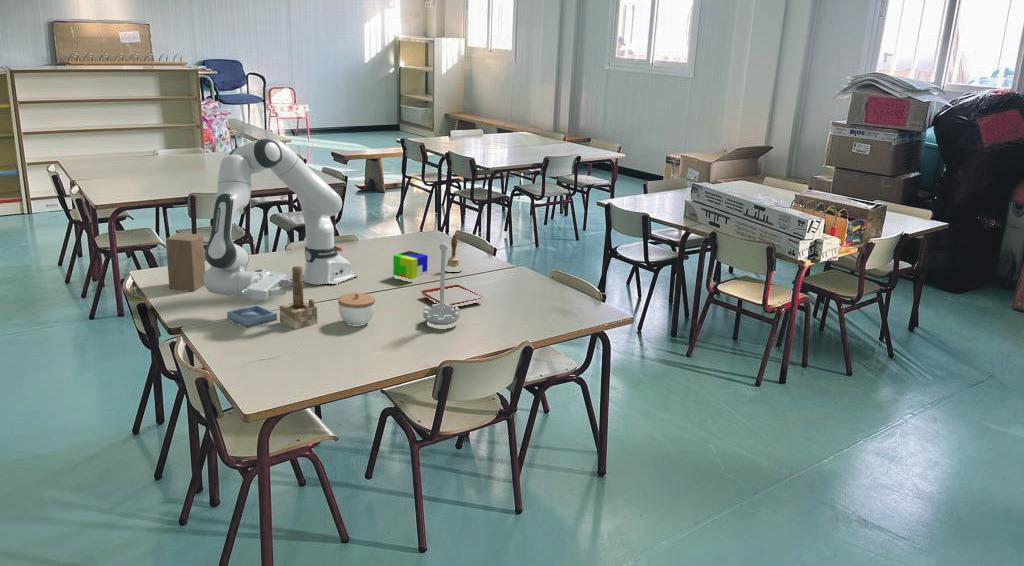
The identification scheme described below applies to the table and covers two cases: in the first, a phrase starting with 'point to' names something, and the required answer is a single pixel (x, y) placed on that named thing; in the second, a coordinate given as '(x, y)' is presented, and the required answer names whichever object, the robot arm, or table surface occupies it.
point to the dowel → (297, 287)
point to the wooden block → (185, 261)
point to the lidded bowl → (356, 308)
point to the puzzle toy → (410, 264)
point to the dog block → (298, 315)
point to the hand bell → (453, 253)
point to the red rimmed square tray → (446, 288)
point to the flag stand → (442, 300)
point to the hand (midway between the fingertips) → (290, 288)
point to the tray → (252, 315)
